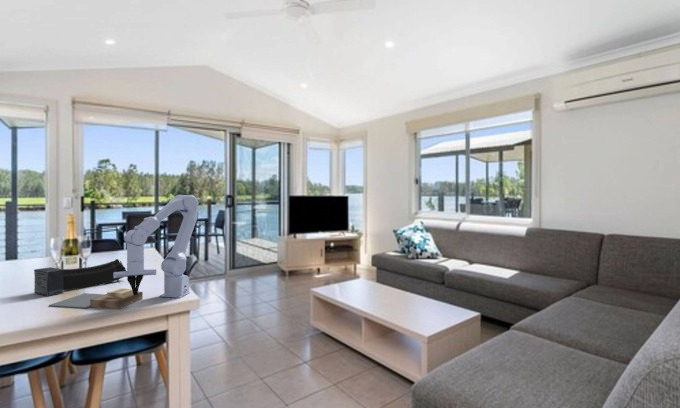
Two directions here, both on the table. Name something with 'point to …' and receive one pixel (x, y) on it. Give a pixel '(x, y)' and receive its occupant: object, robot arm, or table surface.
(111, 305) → the block
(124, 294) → the birch tile
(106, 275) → the magazine
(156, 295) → the table surface
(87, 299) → the charcoal mat
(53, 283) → the small box
